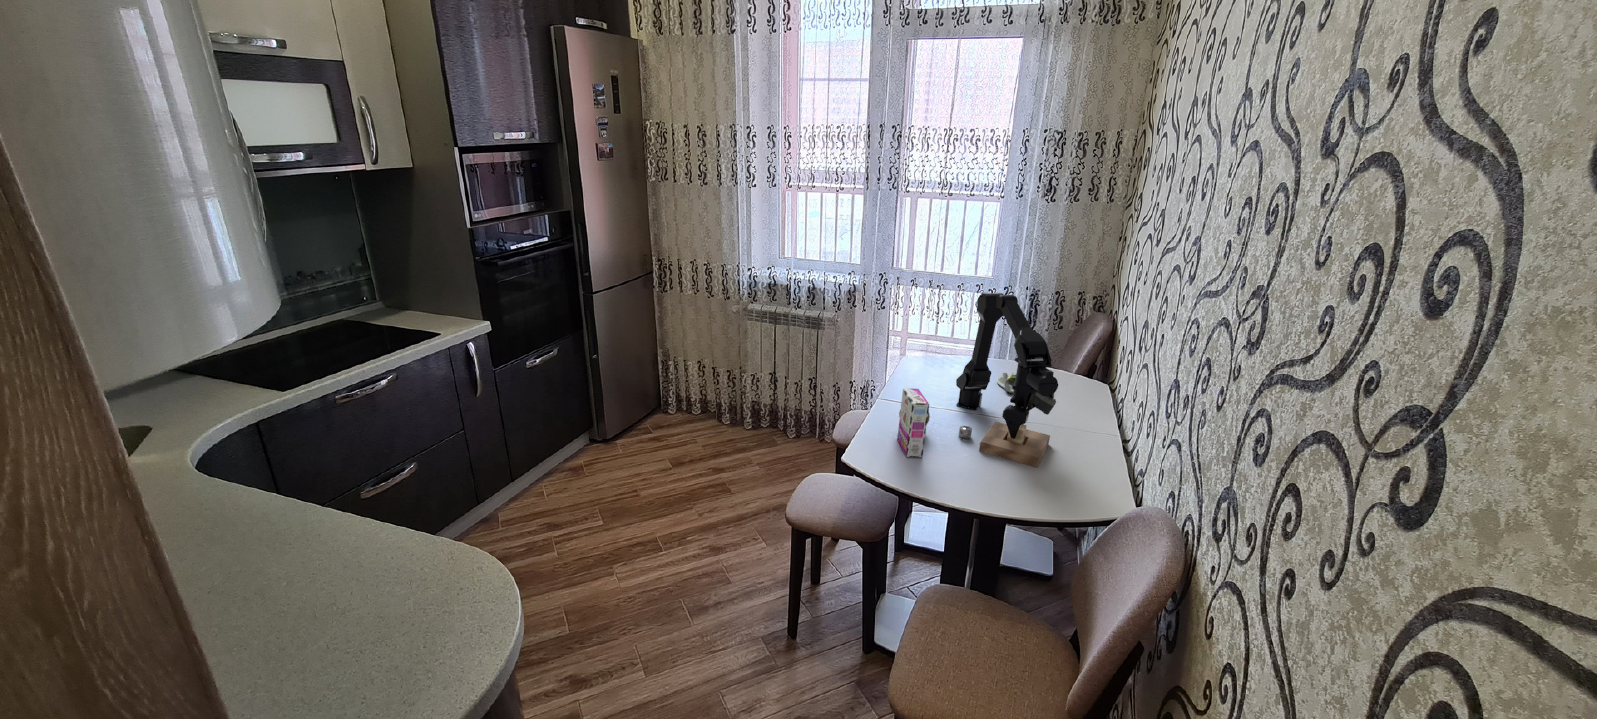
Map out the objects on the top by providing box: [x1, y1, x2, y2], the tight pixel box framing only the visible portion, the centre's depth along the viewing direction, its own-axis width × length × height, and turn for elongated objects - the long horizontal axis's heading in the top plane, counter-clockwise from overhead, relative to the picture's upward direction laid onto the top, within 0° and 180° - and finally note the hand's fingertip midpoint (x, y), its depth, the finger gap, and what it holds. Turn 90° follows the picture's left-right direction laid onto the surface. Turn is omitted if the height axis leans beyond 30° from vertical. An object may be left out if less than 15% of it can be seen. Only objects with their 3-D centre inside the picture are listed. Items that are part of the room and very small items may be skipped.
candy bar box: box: [897, 388, 930, 459], centre depth 172 cm, size 11×5×16 cm, turn 5°
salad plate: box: [996, 372, 1016, 395], centre depth 222 cm, size 19×18×5 cm
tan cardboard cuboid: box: [1007, 424, 1028, 445], centre depth 177 cm, size 4×4×7 cm
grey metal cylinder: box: [957, 425, 973, 441], centre depth 182 cm, size 4×4×3 cm
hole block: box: [978, 420, 1051, 468], centre depth 177 cm, size 16×16×3 cm
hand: (1016, 432), depth 176 cm, fingers open, 9 cm apart
